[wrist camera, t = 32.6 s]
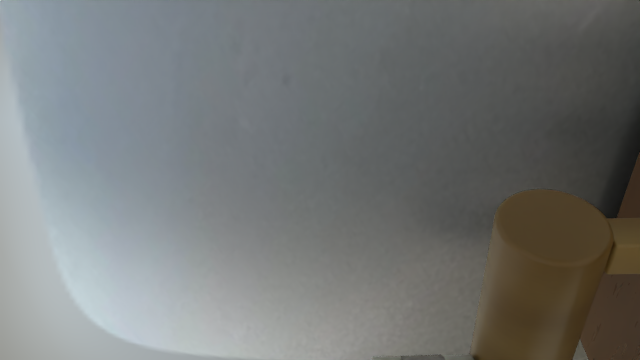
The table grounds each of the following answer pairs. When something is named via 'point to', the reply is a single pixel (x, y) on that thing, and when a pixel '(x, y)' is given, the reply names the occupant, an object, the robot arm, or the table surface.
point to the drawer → (561, 279)
